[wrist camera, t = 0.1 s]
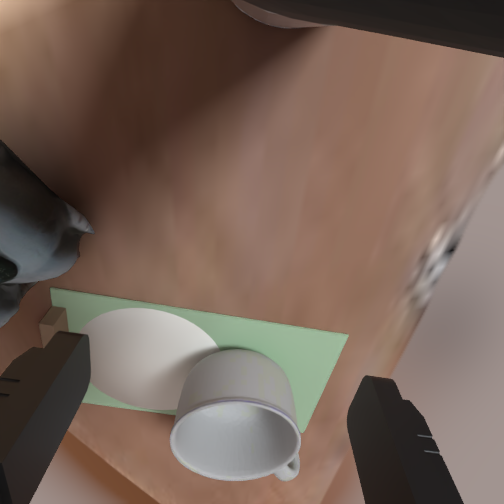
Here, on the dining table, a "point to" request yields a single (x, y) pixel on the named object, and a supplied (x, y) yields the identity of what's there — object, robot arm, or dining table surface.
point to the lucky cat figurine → (32, 232)
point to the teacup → (237, 419)
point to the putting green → (181, 349)
